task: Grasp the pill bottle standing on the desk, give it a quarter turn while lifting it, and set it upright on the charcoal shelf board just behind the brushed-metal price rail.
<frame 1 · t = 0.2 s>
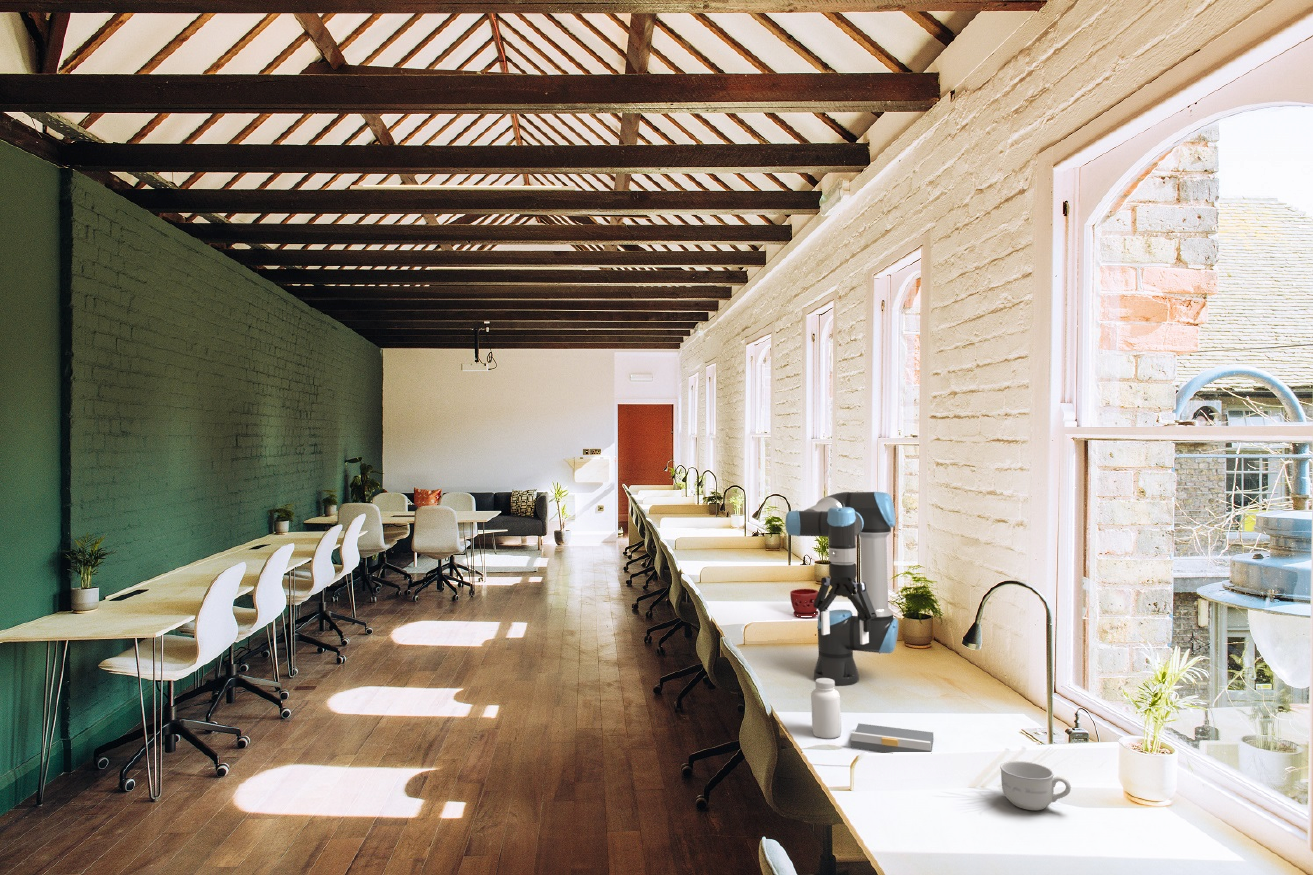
hand: (844, 638, 209), 27 cm above the table, fingers open, 13 cm apart
pill bottle: (826, 734, 211), on the table
plant pot: (805, 616, 353), on the table
teacup: (1035, 807, 167), on the table
shelf: (892, 743, 203), on the table
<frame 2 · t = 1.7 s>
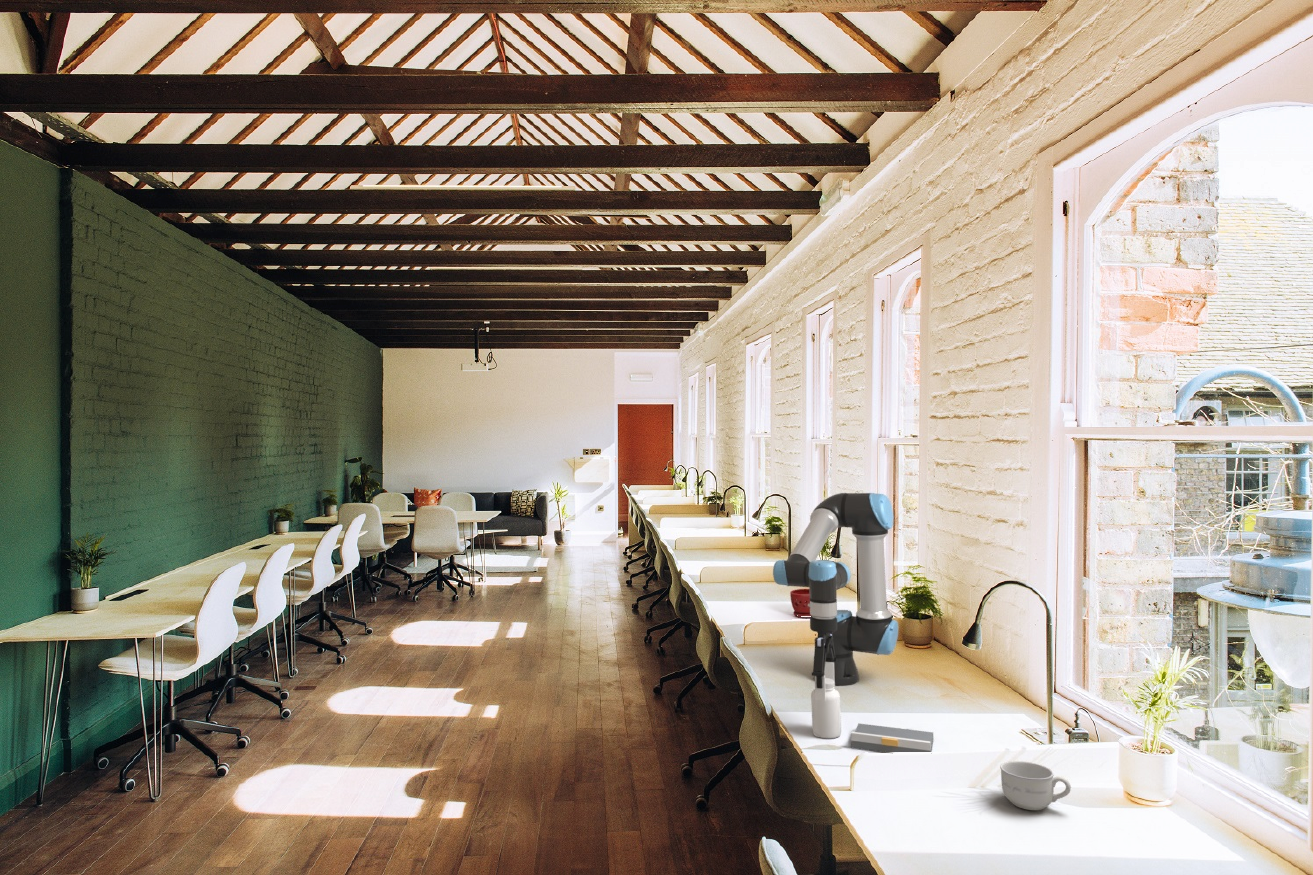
hand: (825, 692, 211), 12 cm above the table, fingers open, 13 cm apart
nothing on the table moved.
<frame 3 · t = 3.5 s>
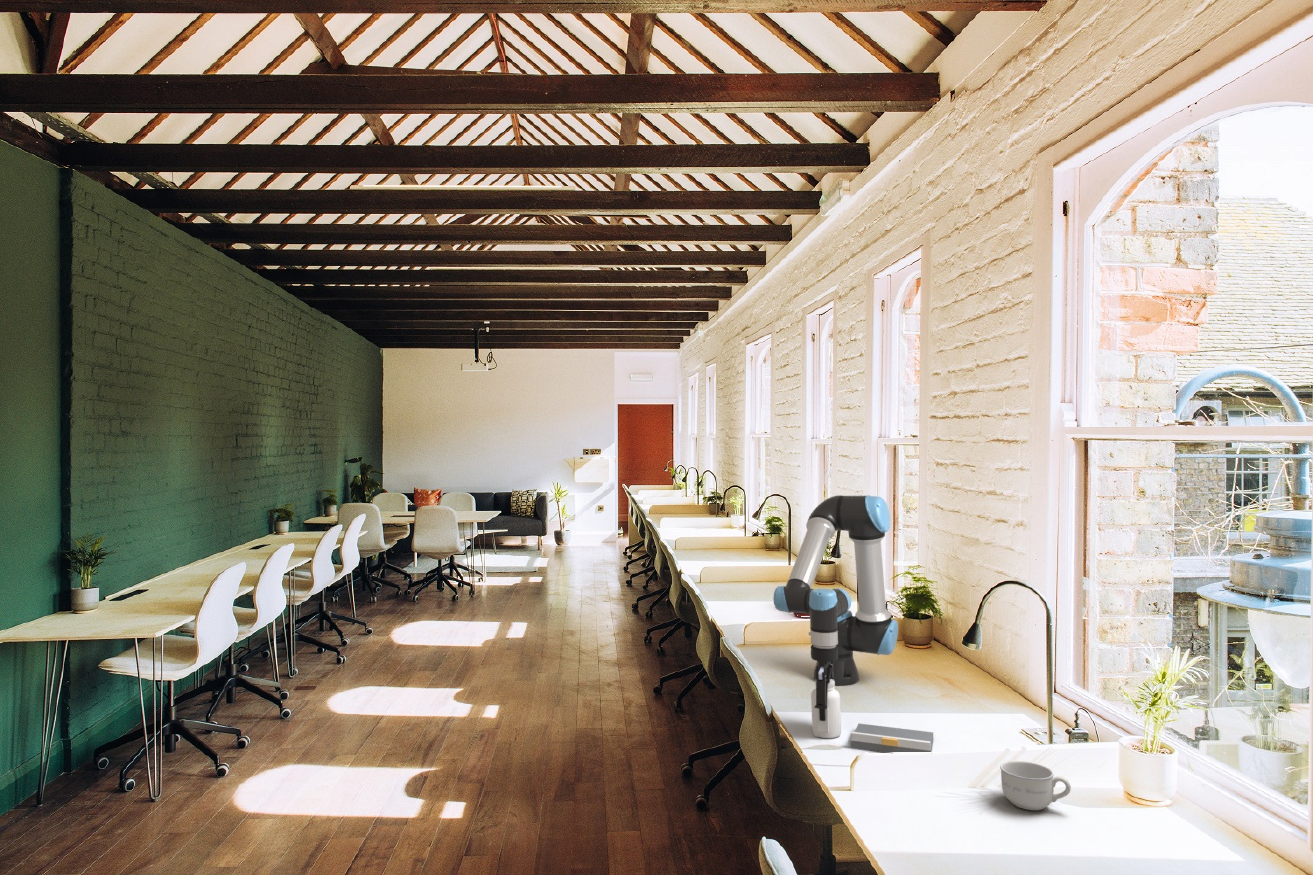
hand: (826, 725, 211), 2 cm above the table, fingers closed on pill bottle, 8 cm apart
pill bottle: (826, 734, 211), on the table, touching gripper
everything else where it was.
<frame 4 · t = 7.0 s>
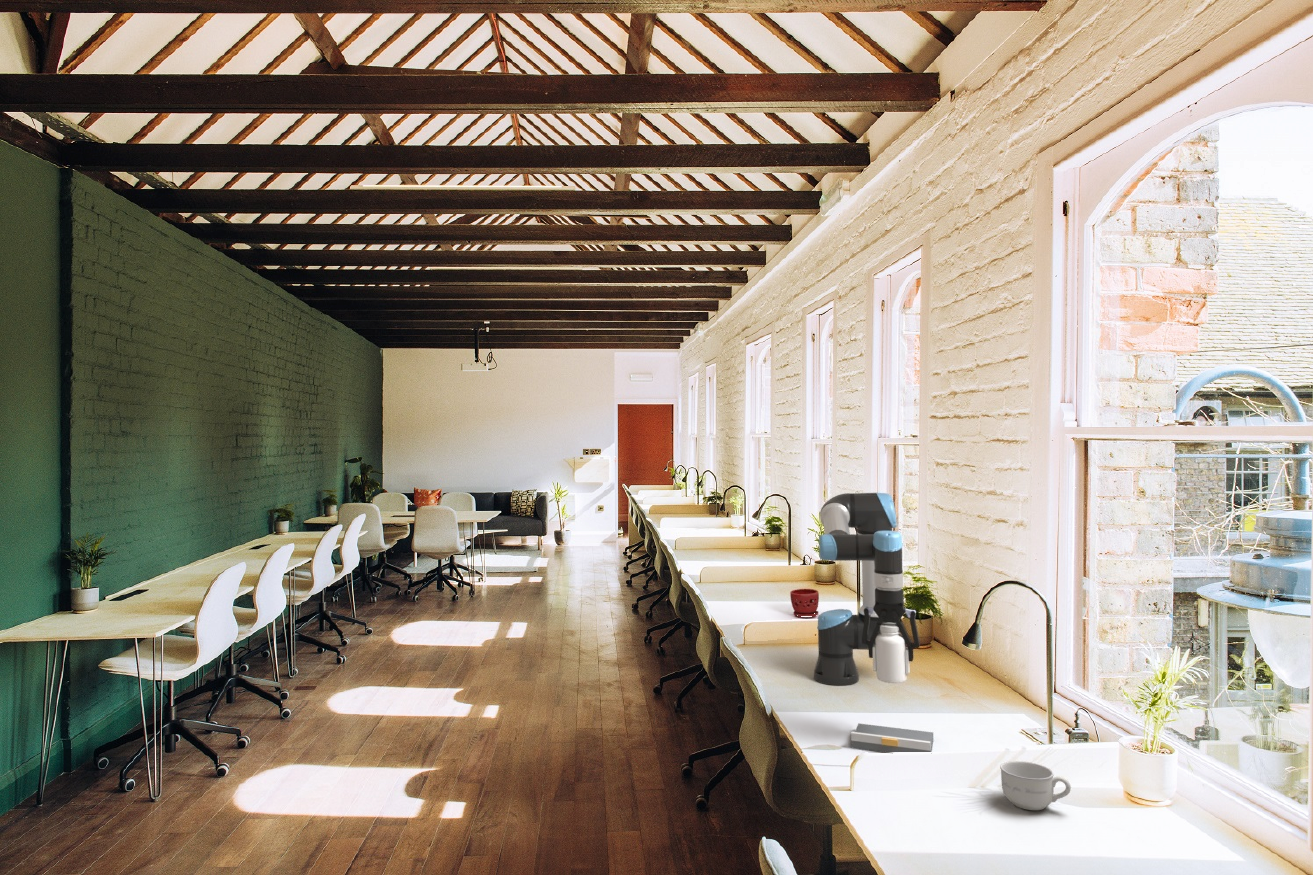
hand: (891, 671, 205), 19 cm above the table, fingers closed on pill bottle, 8 cm apart
pill bottle: (891, 680, 205), point 17 cm above the table, touching gripper
everything else where it was.
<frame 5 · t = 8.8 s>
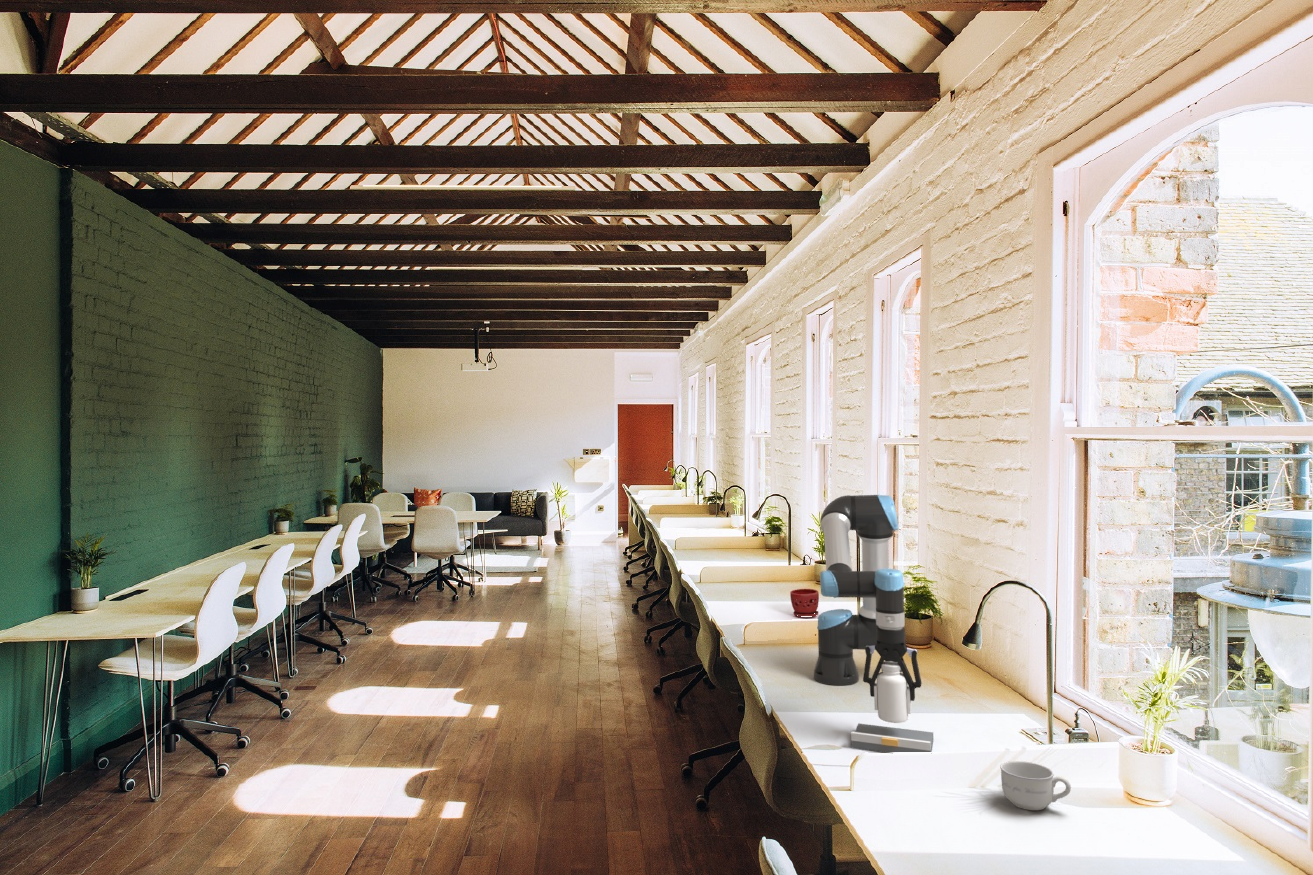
hand: (892, 710, 205), 8 cm above the table, fingers closed on pill bottle, 8 cm apart
pill bottle: (893, 719, 205), point 6 cm above the table, touching gripper
everything else where it was.
when the fingers open (6 cm above the table, at t = 10.3 s): pill bottle drops 1 cm, resting on shelf.
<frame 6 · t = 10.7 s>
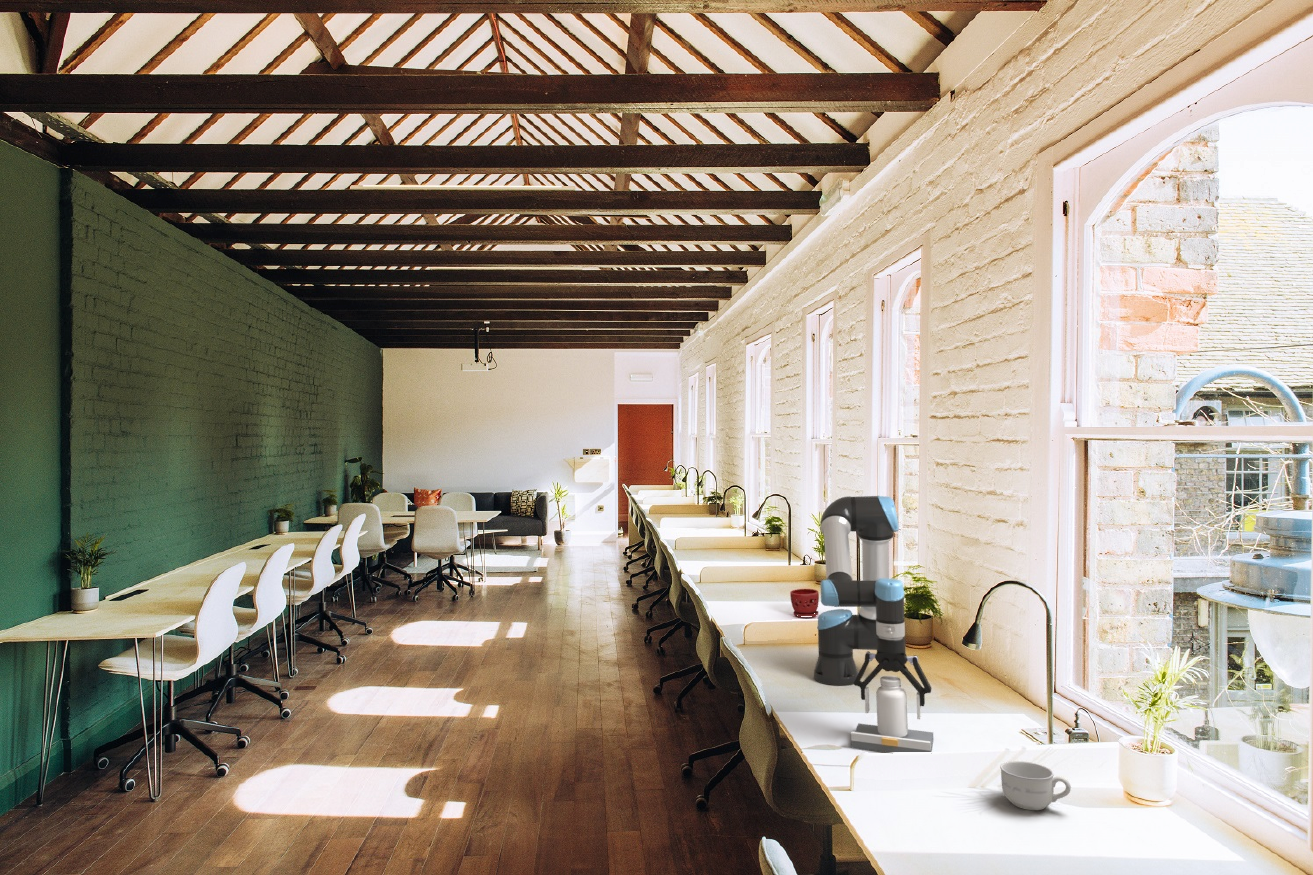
hand: (892, 714, 205), 7 cm above the table, fingers open, 13 cm apart
pill bottle: (892, 733, 205), point 2 cm above the table, touching shelf
everything else where it was.
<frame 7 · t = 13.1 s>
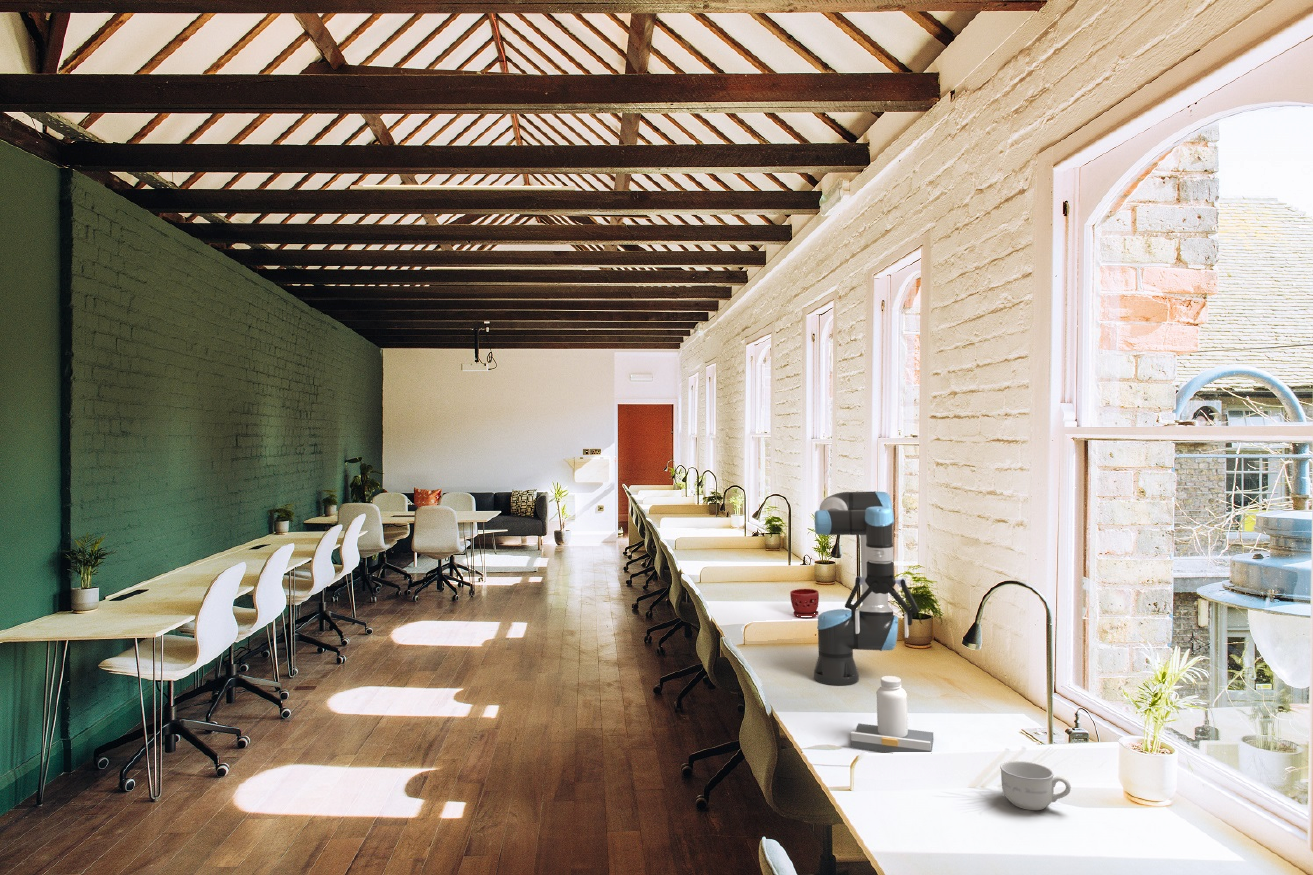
hand: (881, 634, 215), 26 cm above the table, fingers open, 13 cm apart
nothing on the table moved.
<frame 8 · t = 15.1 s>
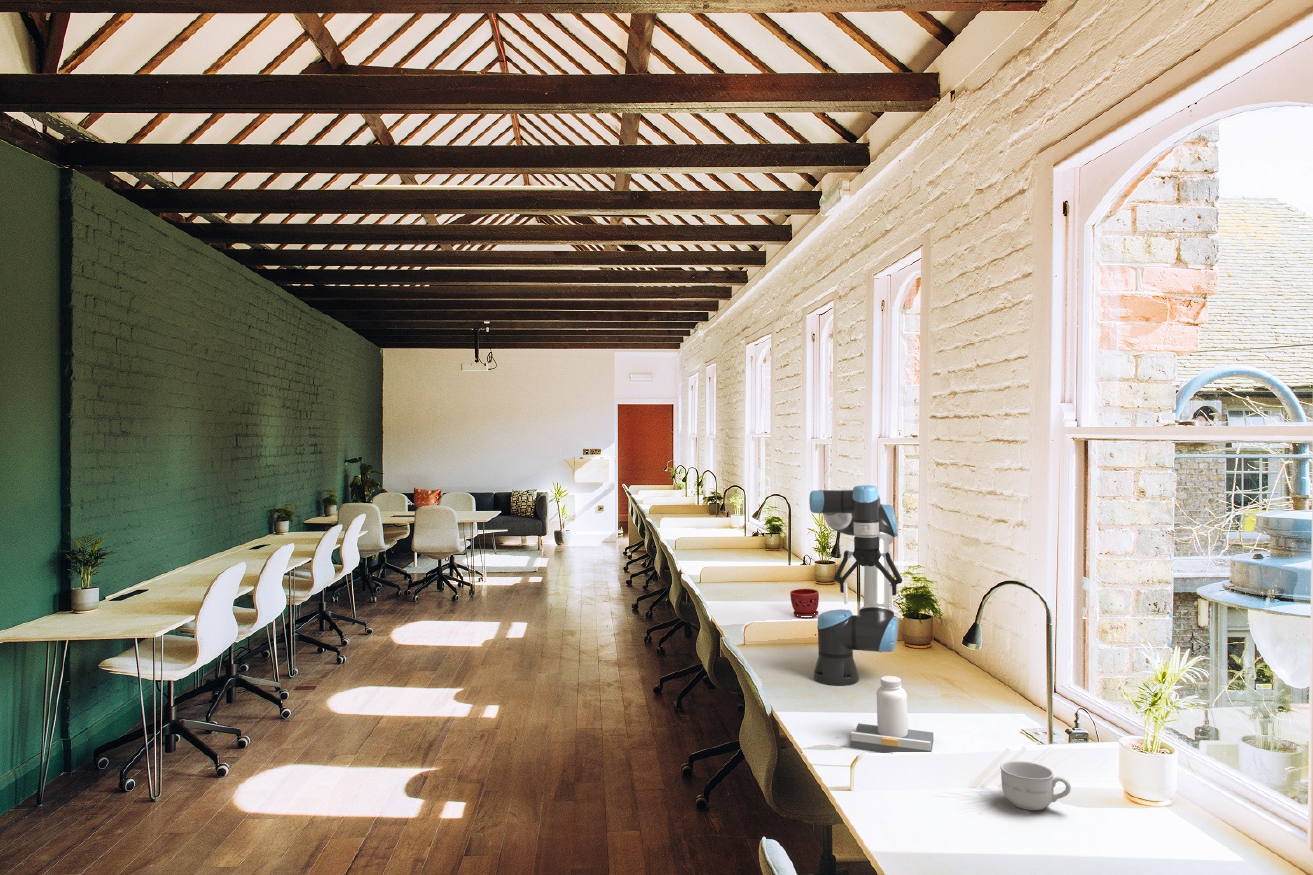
hand: (868, 604, 231), 32 cm above the table, fingers open, 13 cm apart
nothing on the table moved.
at the end: pill bottle inside the target area on the shelf (1.6 cm from its centre), point 1.8 cm above the shelf's base; pill bottle tilted 0°; the gripper is holding nothing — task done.
